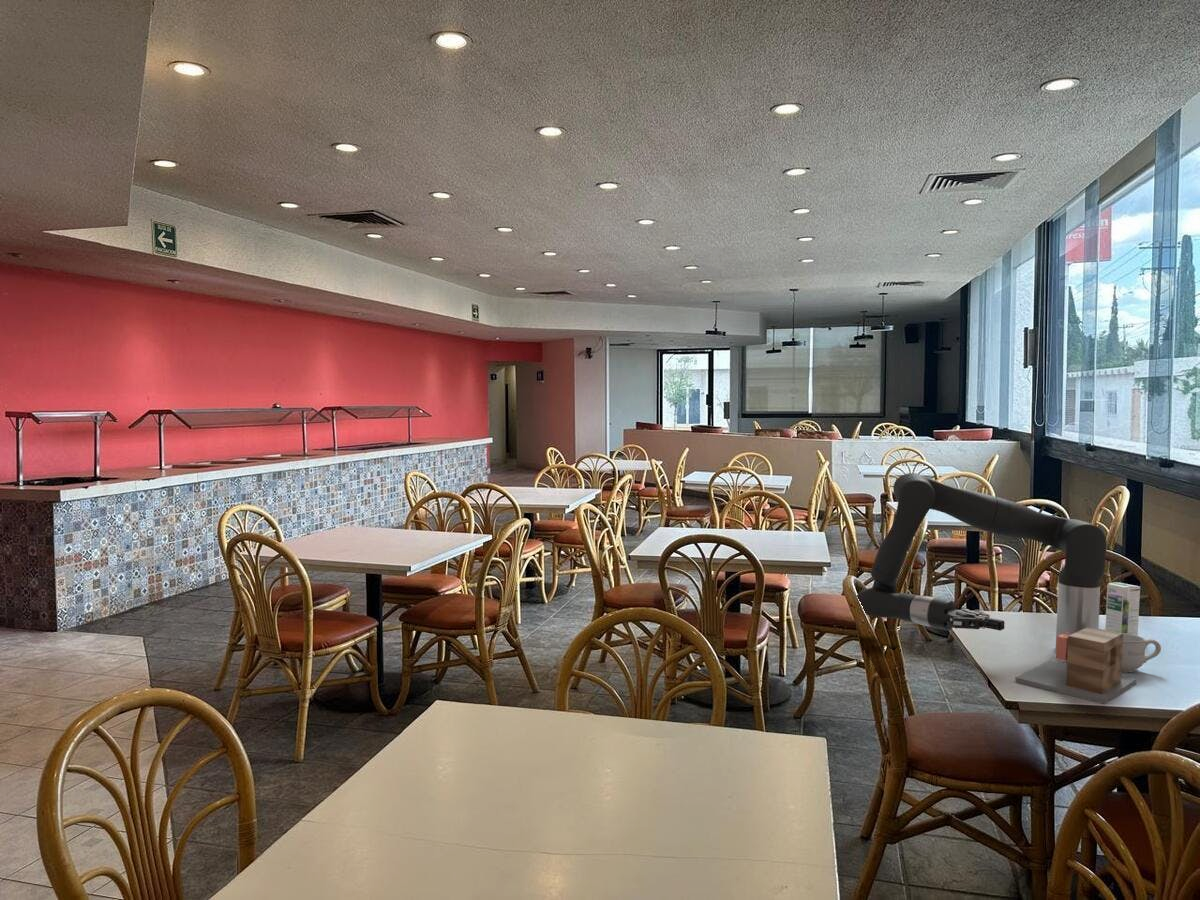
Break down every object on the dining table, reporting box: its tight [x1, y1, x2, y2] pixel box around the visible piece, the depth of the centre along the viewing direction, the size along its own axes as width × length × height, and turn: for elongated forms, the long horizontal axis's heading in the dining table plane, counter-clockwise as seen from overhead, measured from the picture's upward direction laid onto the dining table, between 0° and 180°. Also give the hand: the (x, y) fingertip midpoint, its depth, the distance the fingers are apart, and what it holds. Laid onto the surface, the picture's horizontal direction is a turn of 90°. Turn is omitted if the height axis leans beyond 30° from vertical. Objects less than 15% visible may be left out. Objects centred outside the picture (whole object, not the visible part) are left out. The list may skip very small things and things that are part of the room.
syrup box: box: [1104, 581, 1141, 636], centre depth 221 cm, size 6×6×14 cm
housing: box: [1066, 627, 1123, 694], centre depth 179 cm, size 12×7×12 cm, turn 131°
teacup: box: [1122, 633, 1162, 673], centre depth 193 cm, size 14×11×8 cm
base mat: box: [1014, 659, 1137, 705], centre depth 183 cm, size 20×18×1 cm
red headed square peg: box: [1055, 633, 1071, 662], centre depth 181 cm, size 5×9×5 cm, turn 41°
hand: (1003, 625), depth 194 cm, fingers closed
